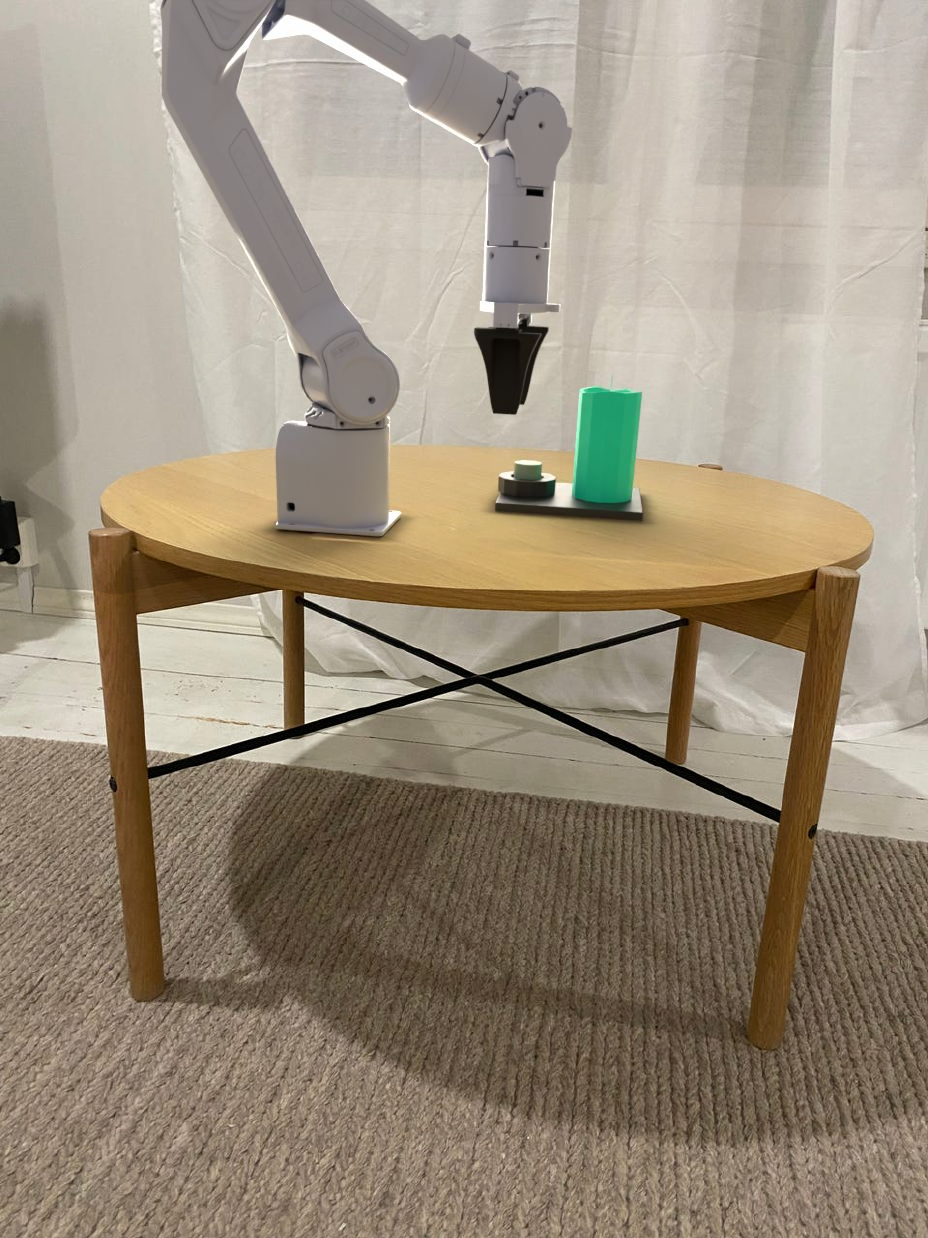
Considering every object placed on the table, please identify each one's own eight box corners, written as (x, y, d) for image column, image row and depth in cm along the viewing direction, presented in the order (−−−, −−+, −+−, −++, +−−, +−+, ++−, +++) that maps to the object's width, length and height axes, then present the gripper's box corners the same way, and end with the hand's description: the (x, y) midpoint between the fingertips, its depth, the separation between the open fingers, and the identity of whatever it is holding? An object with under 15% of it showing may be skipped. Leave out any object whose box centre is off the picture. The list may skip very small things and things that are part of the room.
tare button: (512, 481, 92) (513, 463, 91) (514, 476, 95) (515, 459, 94) (540, 483, 92) (541, 465, 91) (542, 478, 94) (543, 460, 94)
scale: (491, 511, 89) (492, 485, 88) (504, 487, 100) (505, 464, 99) (642, 521, 87) (644, 495, 86) (638, 495, 98) (641, 472, 97)
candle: (630, 505, 89) (643, 377, 85) (568, 500, 90) (578, 374, 86) (632, 492, 95) (644, 372, 91) (574, 488, 96) (583, 369, 92)
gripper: (559, 245, 72) (547, 421, 77) (567, 253, 86) (557, 402, 90) (470, 242, 73) (464, 416, 78) (492, 250, 87) (486, 398, 91)
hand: (509, 408), depth 84 cm, fingers open, 7 cm apart
